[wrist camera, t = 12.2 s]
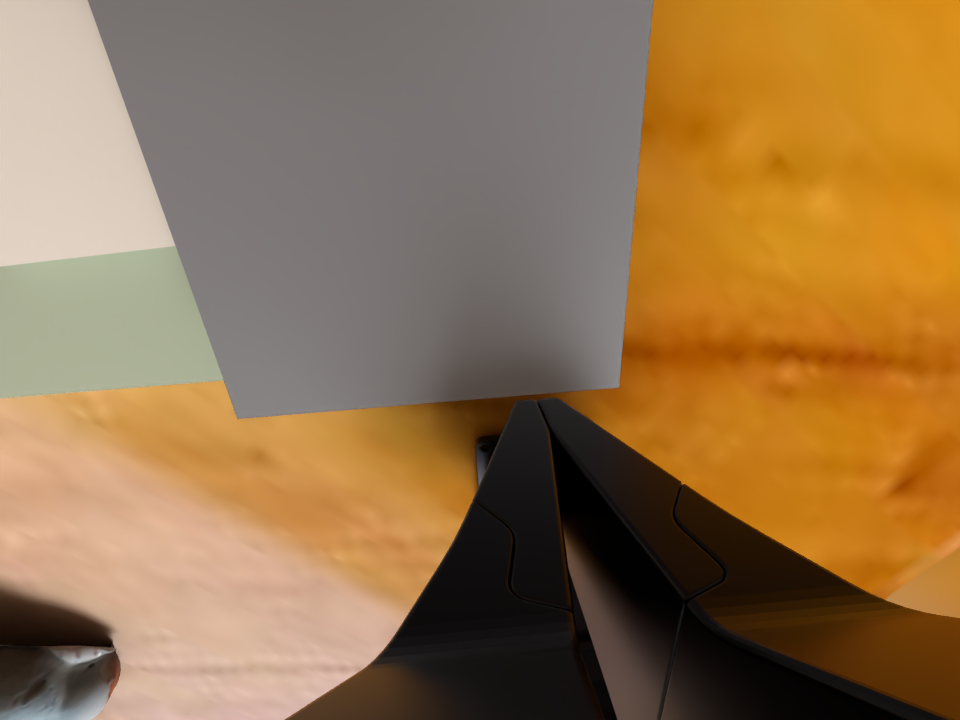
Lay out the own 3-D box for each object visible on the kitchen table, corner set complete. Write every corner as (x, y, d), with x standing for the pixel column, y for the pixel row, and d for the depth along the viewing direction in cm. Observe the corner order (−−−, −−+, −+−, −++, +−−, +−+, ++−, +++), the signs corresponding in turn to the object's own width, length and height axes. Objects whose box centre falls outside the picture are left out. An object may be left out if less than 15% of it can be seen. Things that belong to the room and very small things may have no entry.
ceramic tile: (221, 232, 19) (198, 243, 18) (6, 257, 19) (-39, 271, 17) (124, -45, 15) (80, -68, 13) (-151, -14, 15) (-230, -32, 13)
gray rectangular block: (592, 347, 23) (618, 387, 20) (270, 373, 23) (237, 418, 19) (632, -350, 13) (699, -526, 10) (59, -325, 13) (-92, -499, 9)
